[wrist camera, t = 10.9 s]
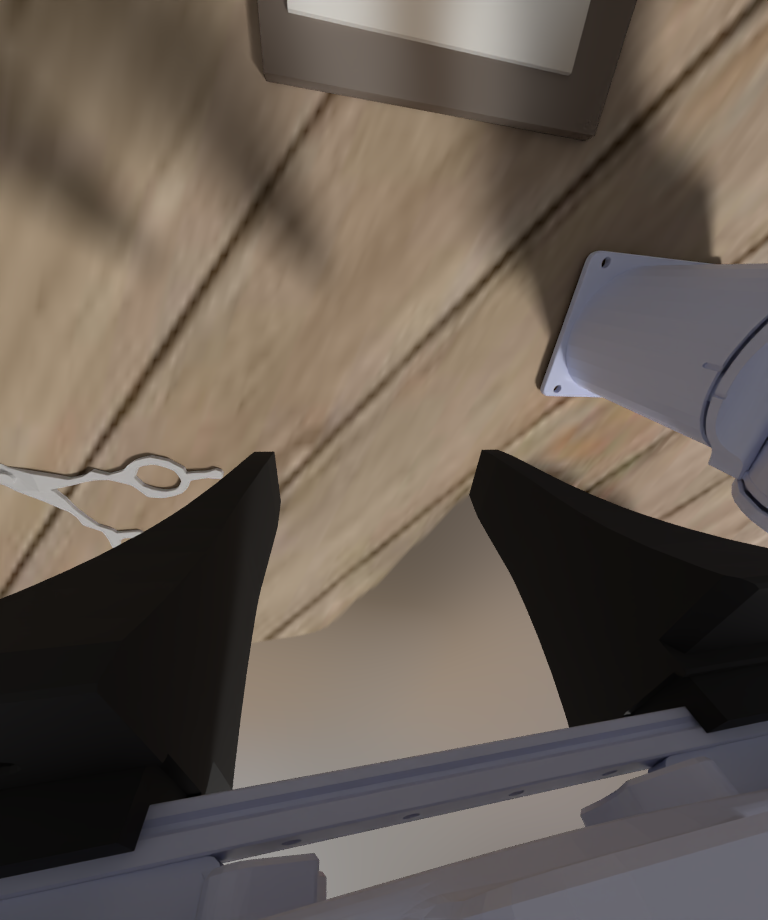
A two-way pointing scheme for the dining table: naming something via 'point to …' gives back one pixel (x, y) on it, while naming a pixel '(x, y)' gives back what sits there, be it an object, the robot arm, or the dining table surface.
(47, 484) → the scissors
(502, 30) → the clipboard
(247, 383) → the dining table surface
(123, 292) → the dining table surface
